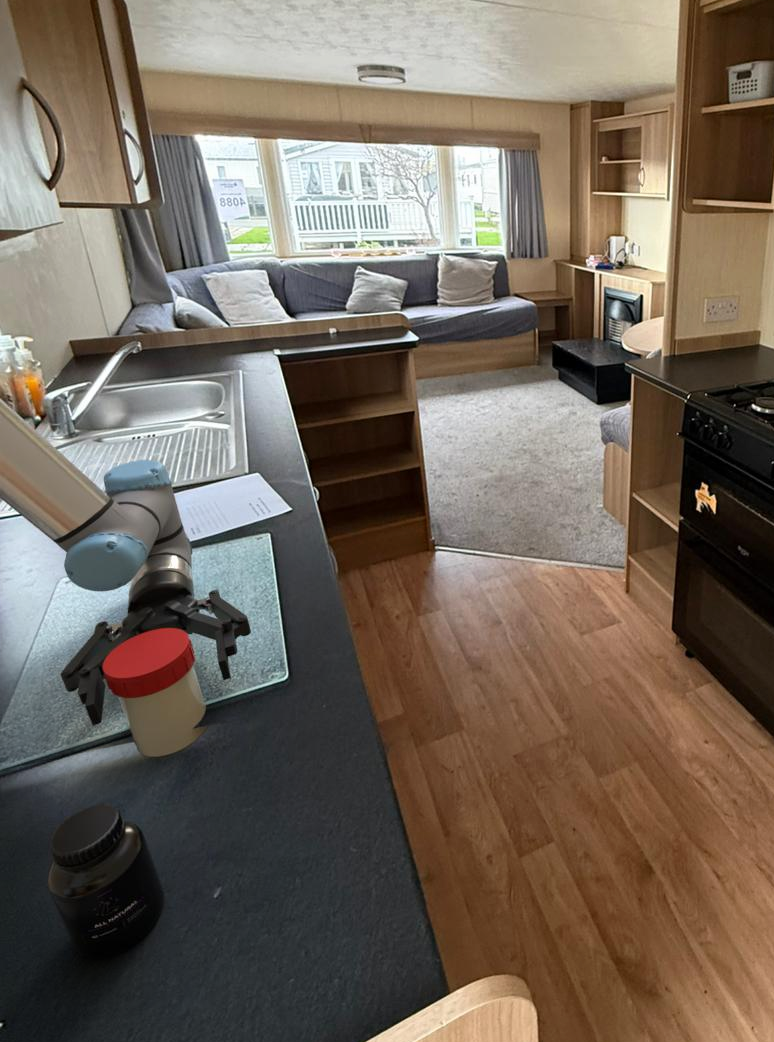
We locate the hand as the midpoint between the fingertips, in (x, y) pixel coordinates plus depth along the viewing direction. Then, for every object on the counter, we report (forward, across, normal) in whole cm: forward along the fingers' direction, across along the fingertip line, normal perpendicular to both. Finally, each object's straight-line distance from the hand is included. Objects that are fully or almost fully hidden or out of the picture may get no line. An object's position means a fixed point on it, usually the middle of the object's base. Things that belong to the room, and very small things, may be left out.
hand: (161, 691), depth 73 cm
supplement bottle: (+19, +5, -9) cm, 22 cm away
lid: (-4, +1, +2) cm, 5 cm away
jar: (-4, +1, -9) cm, 10 cm away
